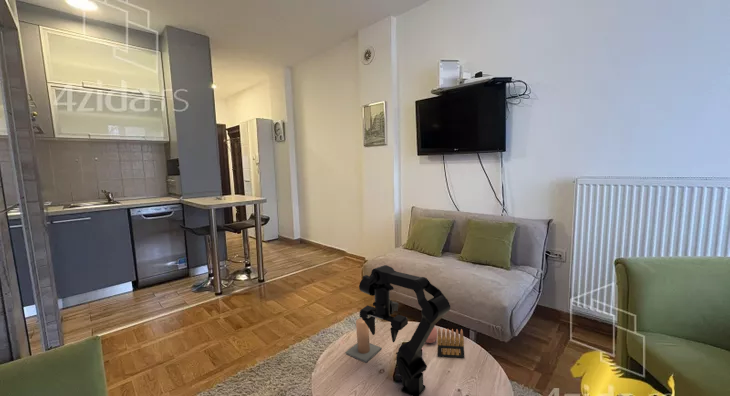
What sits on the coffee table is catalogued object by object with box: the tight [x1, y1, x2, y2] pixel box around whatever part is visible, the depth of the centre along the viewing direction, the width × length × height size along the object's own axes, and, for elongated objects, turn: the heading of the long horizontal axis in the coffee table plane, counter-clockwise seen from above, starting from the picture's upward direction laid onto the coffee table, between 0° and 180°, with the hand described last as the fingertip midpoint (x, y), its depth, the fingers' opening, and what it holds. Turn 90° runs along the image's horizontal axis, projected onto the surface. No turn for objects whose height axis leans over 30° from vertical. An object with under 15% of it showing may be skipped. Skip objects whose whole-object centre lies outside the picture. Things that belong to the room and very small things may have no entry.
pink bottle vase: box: [425, 326, 438, 344], centre depth 134 cm, size 8×8×12 cm
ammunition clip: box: [436, 327, 466, 360], centre depth 123 cm, size 11×2×12 cm, turn 81°
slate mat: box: [345, 342, 382, 364], centre depth 129 cm, size 11×11×1 cm
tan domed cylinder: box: [355, 317, 371, 354], centre depth 128 cm, size 5×5×13 cm
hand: (383, 338), depth 115 cm, fingers open, 9 cm apart
